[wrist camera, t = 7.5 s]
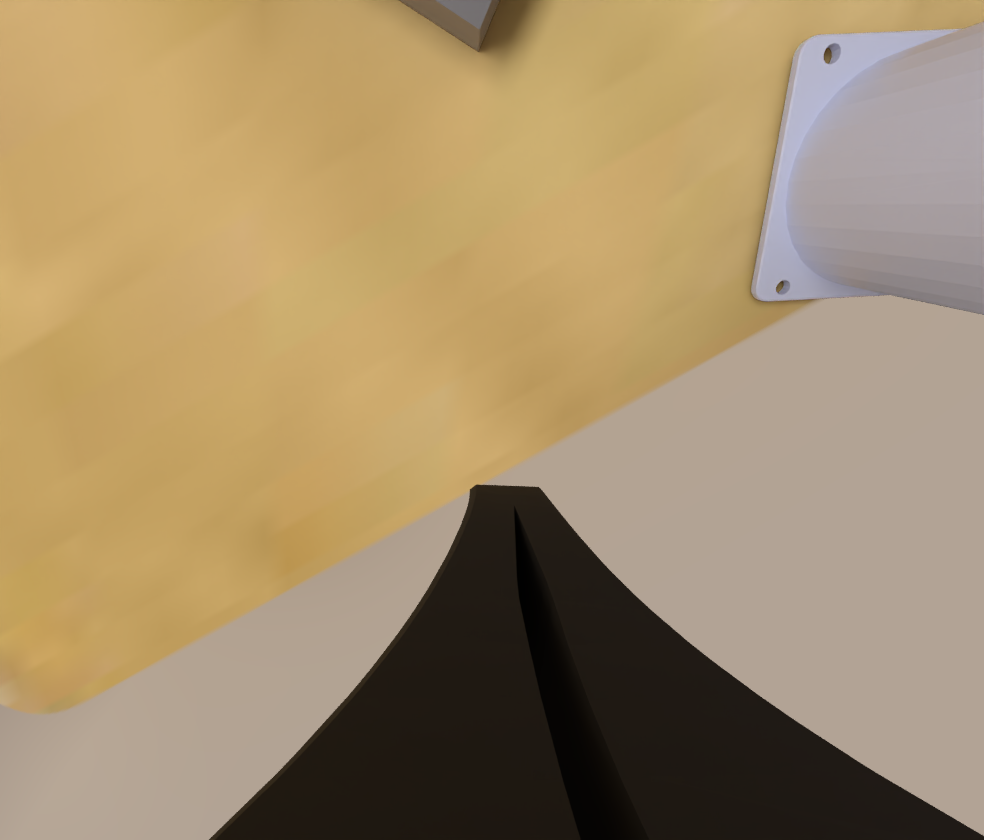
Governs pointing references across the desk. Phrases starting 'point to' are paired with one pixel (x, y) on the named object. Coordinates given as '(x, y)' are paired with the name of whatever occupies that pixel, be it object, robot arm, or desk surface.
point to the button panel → (458, 17)
